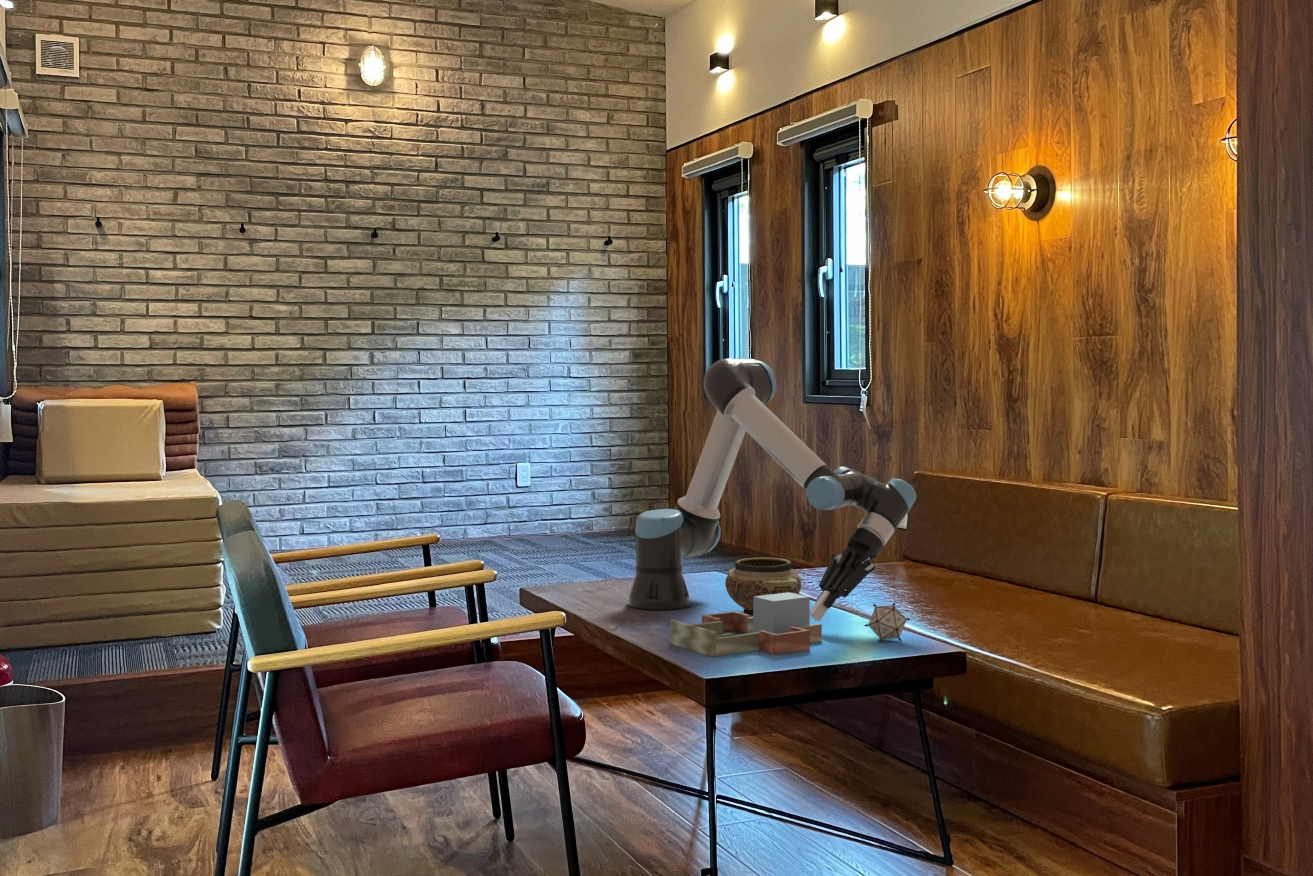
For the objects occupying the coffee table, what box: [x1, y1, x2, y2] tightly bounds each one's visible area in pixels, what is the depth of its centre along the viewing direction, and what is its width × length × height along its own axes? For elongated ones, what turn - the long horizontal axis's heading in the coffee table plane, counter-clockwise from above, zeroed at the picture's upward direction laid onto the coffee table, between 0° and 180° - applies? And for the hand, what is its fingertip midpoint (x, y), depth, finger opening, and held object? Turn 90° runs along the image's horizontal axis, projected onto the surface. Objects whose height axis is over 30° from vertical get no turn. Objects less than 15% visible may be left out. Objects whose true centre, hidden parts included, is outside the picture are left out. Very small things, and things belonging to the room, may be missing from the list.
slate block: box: [753, 592, 811, 634], centre depth 265 cm, size 7×10×9 cm
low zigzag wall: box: [670, 610, 823, 658], centre depth 260 cm, size 26×29×5 cm
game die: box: [863, 601, 911, 643], centre depth 262 cm, size 9×8×10 cm
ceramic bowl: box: [724, 556, 802, 617], centre depth 291 cm, size 24×18×15 cm
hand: (814, 617), depth 270 cm, fingers closed
